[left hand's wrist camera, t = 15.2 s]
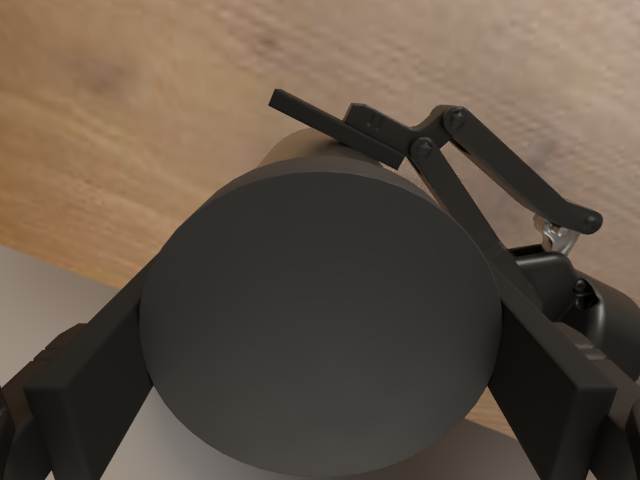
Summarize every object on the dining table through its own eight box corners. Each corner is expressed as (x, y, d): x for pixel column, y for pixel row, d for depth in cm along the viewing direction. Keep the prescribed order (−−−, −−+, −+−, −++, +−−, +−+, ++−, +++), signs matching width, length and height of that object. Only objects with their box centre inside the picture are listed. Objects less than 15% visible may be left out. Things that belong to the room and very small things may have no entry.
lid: (107, 230, 11) (61, 260, 9) (421, 98, 10) (446, 99, 8) (251, 451, 14) (239, 509, 12) (502, 374, 13) (535, 424, 11)
